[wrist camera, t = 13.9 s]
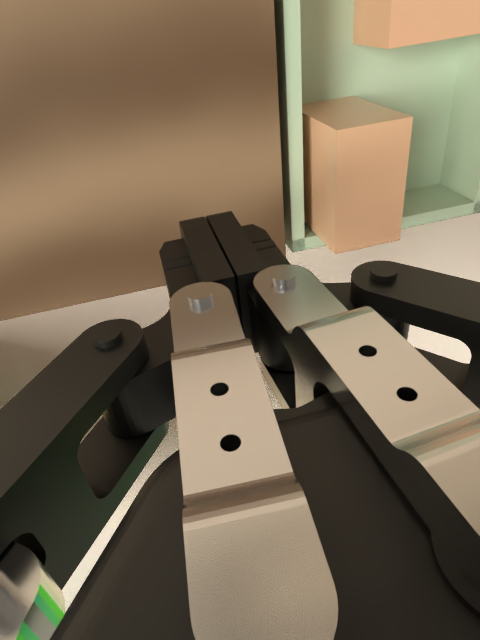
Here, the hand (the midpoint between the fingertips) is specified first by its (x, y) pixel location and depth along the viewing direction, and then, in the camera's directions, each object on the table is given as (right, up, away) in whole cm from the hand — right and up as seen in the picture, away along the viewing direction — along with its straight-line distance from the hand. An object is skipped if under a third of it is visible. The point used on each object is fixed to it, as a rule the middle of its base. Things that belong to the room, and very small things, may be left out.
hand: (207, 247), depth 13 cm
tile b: (+4, +4, +7) cm, 9 cm away
